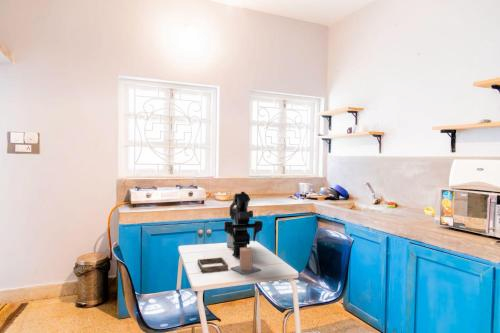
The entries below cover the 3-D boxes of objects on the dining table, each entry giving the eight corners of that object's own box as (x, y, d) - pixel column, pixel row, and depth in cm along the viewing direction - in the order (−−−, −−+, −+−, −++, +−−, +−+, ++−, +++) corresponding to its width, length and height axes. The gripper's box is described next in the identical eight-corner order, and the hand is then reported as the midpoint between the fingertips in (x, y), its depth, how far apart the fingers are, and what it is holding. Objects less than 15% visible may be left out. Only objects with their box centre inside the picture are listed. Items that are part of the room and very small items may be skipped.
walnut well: (222, 261, 158) (222, 257, 158) (228, 269, 146) (228, 265, 146) (197, 263, 154) (197, 259, 154) (201, 272, 142) (201, 267, 142)
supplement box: (236, 248, 180) (237, 226, 180) (226, 246, 184) (226, 225, 184) (244, 246, 186) (244, 224, 186) (233, 244, 190) (233, 223, 190)
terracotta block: (239, 266, 148) (239, 247, 148) (250, 266, 149) (250, 247, 149) (240, 270, 143) (241, 250, 143) (251, 270, 144) (252, 250, 144)
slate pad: (247, 264, 153) (247, 263, 153) (261, 270, 145) (261, 269, 145) (230, 268, 147) (230, 267, 147) (243, 275, 139) (243, 273, 139)
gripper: (224, 205, 154) (225, 233, 143) (262, 204, 157) (266, 232, 146) (223, 217, 162) (224, 245, 152) (259, 217, 165) (263, 244, 154)
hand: (244, 241), depth 151 cm, fingers open, 9 cm apart
